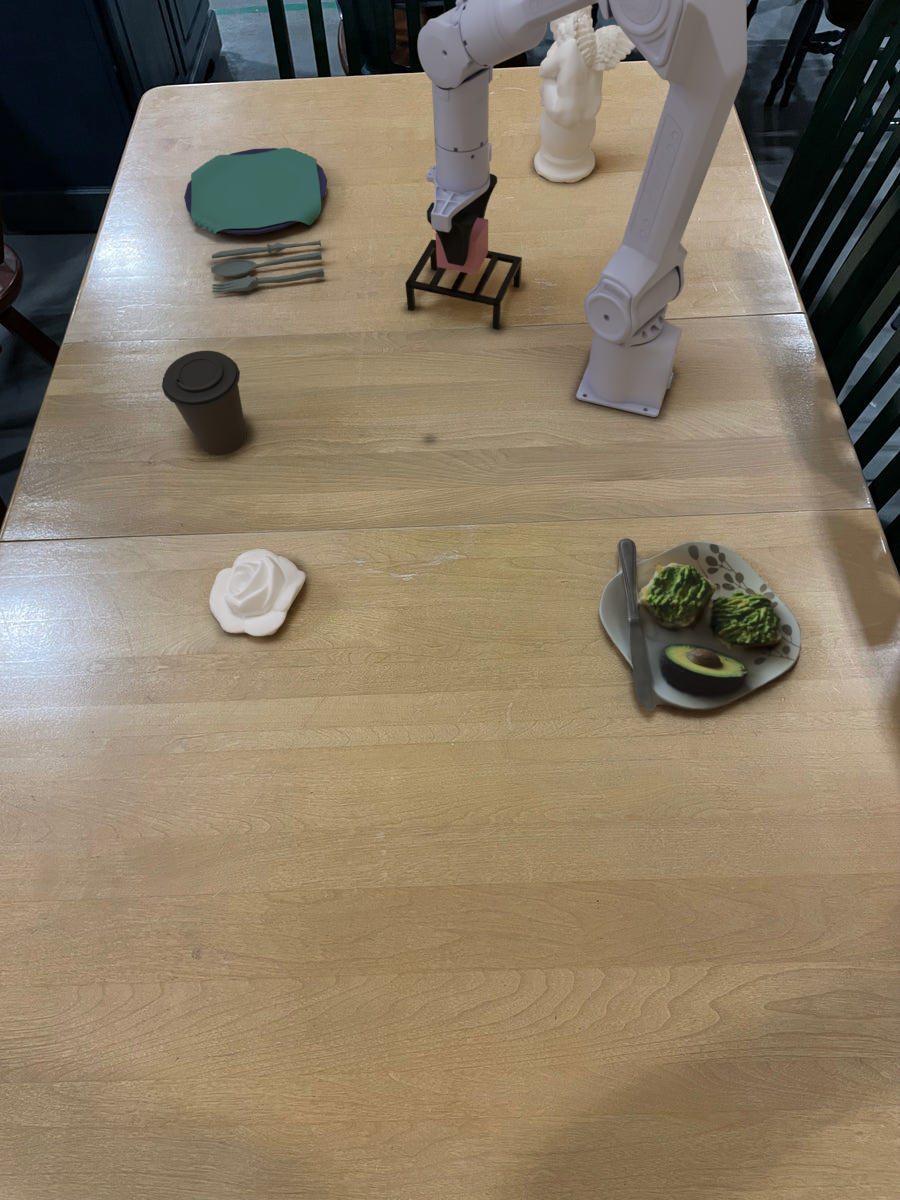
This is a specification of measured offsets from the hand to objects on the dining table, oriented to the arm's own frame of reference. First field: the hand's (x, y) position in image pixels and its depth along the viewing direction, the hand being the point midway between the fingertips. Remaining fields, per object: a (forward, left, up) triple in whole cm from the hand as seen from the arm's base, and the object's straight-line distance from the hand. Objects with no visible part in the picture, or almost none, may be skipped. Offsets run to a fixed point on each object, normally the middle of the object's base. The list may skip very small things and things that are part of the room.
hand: (463, 250), depth 101 cm
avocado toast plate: (-37, +39, -7) cm, 54 cm away
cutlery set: (+32, -6, -7) cm, 33 cm away
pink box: (0, 0, -1) cm, 1 cm away
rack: (0, 0, -7) cm, 7 cm away
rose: (+4, +49, -7) cm, 50 cm away
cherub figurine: (-6, -31, -7) cm, 32 cm away
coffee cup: (+18, +31, -7) cm, 37 cm away
